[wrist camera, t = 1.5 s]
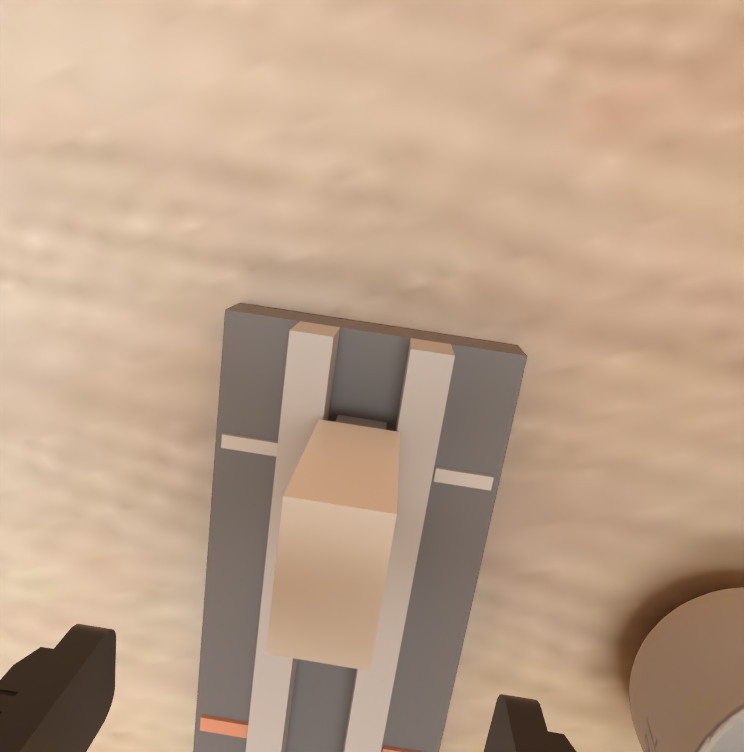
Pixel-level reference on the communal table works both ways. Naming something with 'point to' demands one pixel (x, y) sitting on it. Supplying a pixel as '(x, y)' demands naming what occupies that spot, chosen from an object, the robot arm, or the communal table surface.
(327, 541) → the fader
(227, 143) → the communal table surface
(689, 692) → the teacup
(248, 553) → the track
